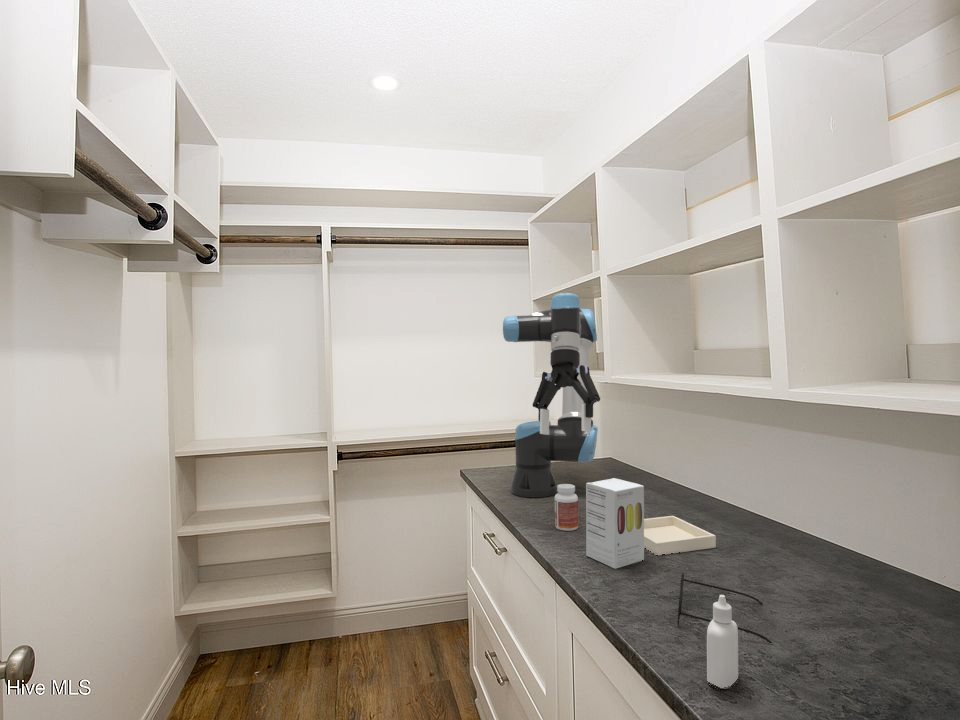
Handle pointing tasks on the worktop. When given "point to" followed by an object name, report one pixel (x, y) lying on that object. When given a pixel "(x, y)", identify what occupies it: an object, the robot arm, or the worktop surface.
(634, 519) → the supplement box
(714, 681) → the eye dropper bottle
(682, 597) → the glasses
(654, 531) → the tray
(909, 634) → the worktop surface
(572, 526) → the pill bottle
